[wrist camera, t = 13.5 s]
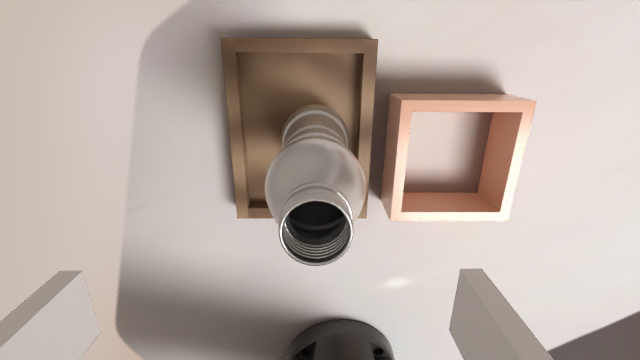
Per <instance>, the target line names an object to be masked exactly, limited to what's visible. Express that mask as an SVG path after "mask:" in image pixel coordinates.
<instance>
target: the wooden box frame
mask: <svg viewBox="0 0 640 360" xmlns="http://www.w3.org/2000/svg"><path fill="white" fill-rule="evenodd" d="M535 105H536V101H535V100H530V99H526V98H521V97H517V96H513V95H508V94H422V93H390V97H389V109H388V121H387V133H386V145H385V157H384V170H383V182H382V194H381V201H382V204H383V206H384V208H385V210H386V213H387V215H388V217H389V219H390V221H508V218H509V214H510V209H511V205H512V201H513V197H514V193H515V189H516V184H517V180H518V176H519V172H520V168H521V164H522V159H523V155H524V151H525V147H526V143H527V139H528V134H529V130H530V126H531V122H532V118H533V114H534V110H535ZM412 112H493V115H492V120H491V125H490V130H489V135H488V140H487V145H486V151H485V156H484V161H483V166H482V171H481V176H480V181H479V186H478V191H477V192H403V189H404V180H405V171H406V162H407V152H408V143H409V134H410V124H411V115H412Z"/></svg>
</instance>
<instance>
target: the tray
mask: <svg viewBox="0 0 640 360" xmlns="http://www.w3.org/2000/svg"><path fill="white" fill-rule="evenodd" d="M221 46H222V57H223V68H224V78H225V89H226V100H227V111H228V122H229V133H230V144H231V154H232V165H233V176H234V187H235V198H236V209H237V218H273V216H272V214H271V212H270V209H269V207H268V204H267V201H266V196H265V179H266V175H267V172H268V169H269V167H270V165H271V163H272V162H273V160H274V158H275V157H276V156H277V154H278V153H279V152H280V151H281V150H282V142H281V137H282V130H283V126H284V124H285V122H286V120H287V119H288V118H289V116H290V115H291V114H292V113H293V112H294V111H296V110H297V109H299V108H301V107H303V106H306V105H313V104H317V105H323V106H327V107H329V108H331V109H333V110H334V111H335V112H337V113H338V114H339V115H340V116H341V118H342V119H343V120H344V122H345V124H346V127H347V130H348V137H349V141H348V149H349V150H350V151H351V152H352V153H353V155H354V156H355V157H356V158H357V160H358V162H359V163H360V165H361V167H362V169H363V172H364V175H365V179H366V196H365V201H364V204H363V207H362V210H361V212H360V214H359V216H358V218H366V215H367V200H368V185H369V170H370V155H371V140H372V124H373V109H374V94H375V79H376V64H377V49H378V39H313V38H221Z"/></svg>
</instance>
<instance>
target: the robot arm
mask: <svg viewBox="0 0 640 360" xmlns="http://www.w3.org/2000/svg"><path fill="white" fill-rule="evenodd" d="M449 331H450V333H451V335H452V337H453V339H454V341H455V343H456V345H457V347H458V349H459V351H460V353H461V355H462V357H463V359H464V360H553V358H552V357H551V356H550V355H549V353H548V352H547V351H546V350H545V348H544V347H543V346H542V344H541V343H540V342H539V341H538V339H537V338H536V337H535V336H534V334H533V333H532V332H531V330H530V329H529V328H528V327H527V325H526V324H525V323H524V322H523V320H522V319H521V318H520V317H519V315H518V314H517V313H516V311H515V310H514V309H513V308H512V306H511V305H510V304H509V303H508V301H507V300H506V299H505V297H504V296H503V295H502V294H501V292H500V291H499V290H498V289H497V287H496V286H495V285H494V284H493V282H492V281H491V280H490V278H489V277H488V276H487V275H486V273H485V272H484V271H483V270H482V269H460V274H459V279H458V284H457V290H456V295H455V300H454V306H453V311H452V317H451V322H450V327H449ZM99 334H100V330H99V326H98V323H97V319H96V316H95V312H94V309H93V306H92V302H91V299H90V295H89V292H88V288H87V285H86V281H85V278H84V275H83V271H59V272H58V273H57V274H56V275H54V276H53V277H52V278H51V279H50V280H49V281H47V282H46V283H45V284H44V285H43V286H42V287H40V288H39V289H38V290H37V291H36V292H35V293H33V294H32V295H31V296H30V297H29V298H28V299H26V300H25V301H24V302H23V303H22V304H21V305H20V306H18V307H17V308H16V309H15V310H14V311H12V312H11V313H10V314H9V315H8V316H7V317H5V318H4V319H3V320H2V321H1V322H0V360H80V359H81V358H82V356H83V355H84V354H85V352H86V351H87V350H88V348H89V347H90V346H91V344H92V343H93V342H94V341H95V339H96V338H97V337H98V335H99ZM286 360H395V359H394V355H393V351H392V348H391V345H390V343H389V342H388V340H387V339H386V338H385V336H384V335H383V334H382V333H380V332H379V331H378V330H376V329H375V328H373V327H371V326H369V325H367V324H364V323H361V322H357V321H351V320H333V321H327V322H323V323H320V324H317V325H314V326H312V327H310V328H308V329H307V330H305V331H304V332H302V333H301V334H300V335H299V336H298V337H297V338H296V339H295V340H294V341H293V343H292V344H291V346H290V348H289V350H288V353H287V359H286Z"/></svg>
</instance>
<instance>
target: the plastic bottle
mask: <svg viewBox="0 0 640 360" xmlns="http://www.w3.org/2000/svg"><path fill="white" fill-rule="evenodd" d="M348 141H349V137H348V130H347V127H346V124H345V122H344V120H343V119H342V118H341V116H340V115H339V114H338V113H337V112H335V111H334V110H333V109H331V108H329V107H327V106H323V105H317V104H313V105H306V106H303V107H301V108H299V109H297V110H296V111H294V112H293V113H292V114H291V115H290V116H289V118H288V119H287V120H286V122H285V124H284V126H283V130H282V137H281V142H282V150H281V151H280V152H279V153H278V154H277V156H276V157H275V158H274V160H273V162H272V163H271V165H270V167H269V169H268V172H267V175H266V179H265V196H266V201H267V204H268V207H269V209H270V212H271V214H272V216H273V218H274V219H275V221H276V222H277V223H278V224H279V238H280V242H281V244H282V247H283V248H284V250H285V251H286V253H287V254H288V255H289V256H290V257H291V258H293V259H294V260H296V261H298V262H300V263H302V264H306V265H311V266H320V265H326V264H329V263H332V262H334V261H336V260H337V259H339V258H340V257H342V256H343V255H344V253H345V252H346V251H347V250H348V248H349V246H350V244H351V241H352V238H353V223H354V222H355V221H356V219H357V218H358V216H359V214H360V212H361V210H362V207H363V204H364V201H365V196H366V179H365V175H364V172H363V169H362V167H361V165H360V163H359V162H358V160H357V158H356V157H355V156H354V155H353V153H352V152H351V151H350V150H349V149H348Z"/></svg>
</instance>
